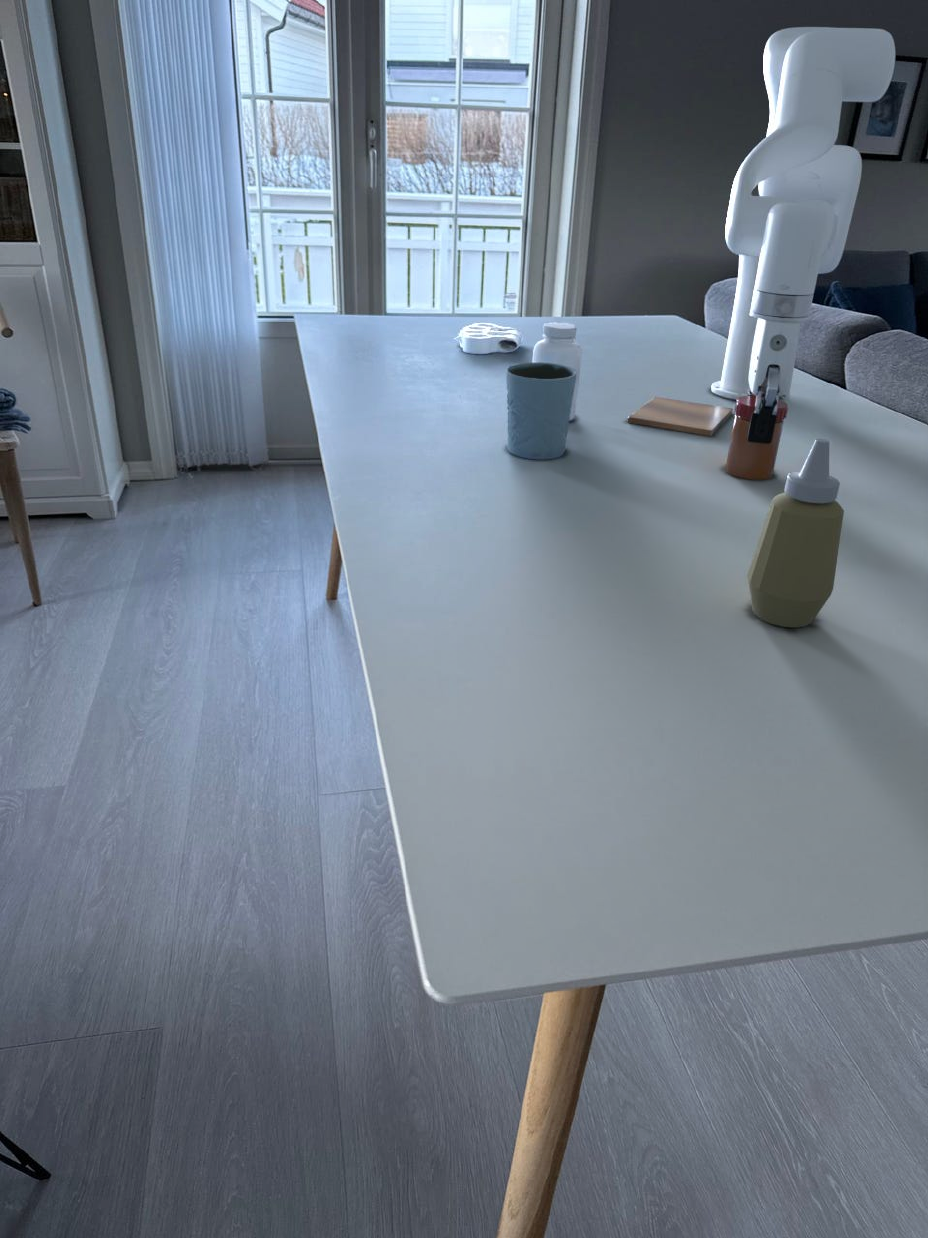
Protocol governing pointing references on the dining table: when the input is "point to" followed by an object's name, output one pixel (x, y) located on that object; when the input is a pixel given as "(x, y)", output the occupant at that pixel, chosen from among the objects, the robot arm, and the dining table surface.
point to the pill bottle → (560, 351)
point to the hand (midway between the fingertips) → (756, 432)
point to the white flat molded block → (488, 338)
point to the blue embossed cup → (539, 408)
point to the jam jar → (751, 452)
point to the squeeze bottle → (798, 546)
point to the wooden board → (681, 416)
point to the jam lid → (747, 406)
